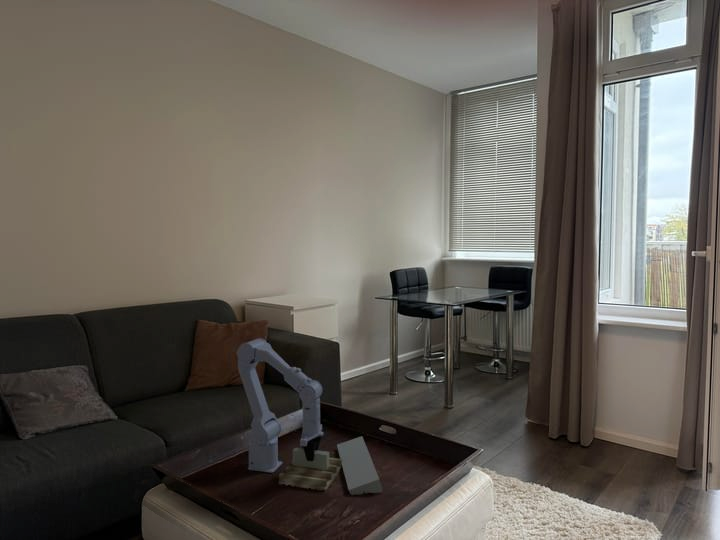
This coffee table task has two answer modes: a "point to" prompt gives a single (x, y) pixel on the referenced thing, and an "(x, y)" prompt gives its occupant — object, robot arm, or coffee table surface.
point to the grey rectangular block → (359, 467)
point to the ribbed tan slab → (311, 475)
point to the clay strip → (319, 461)
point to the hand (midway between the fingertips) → (311, 458)
